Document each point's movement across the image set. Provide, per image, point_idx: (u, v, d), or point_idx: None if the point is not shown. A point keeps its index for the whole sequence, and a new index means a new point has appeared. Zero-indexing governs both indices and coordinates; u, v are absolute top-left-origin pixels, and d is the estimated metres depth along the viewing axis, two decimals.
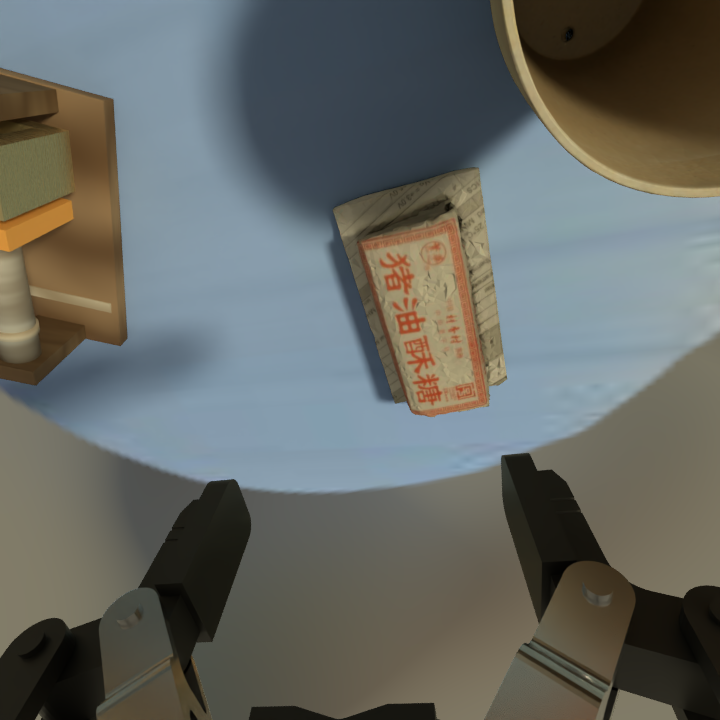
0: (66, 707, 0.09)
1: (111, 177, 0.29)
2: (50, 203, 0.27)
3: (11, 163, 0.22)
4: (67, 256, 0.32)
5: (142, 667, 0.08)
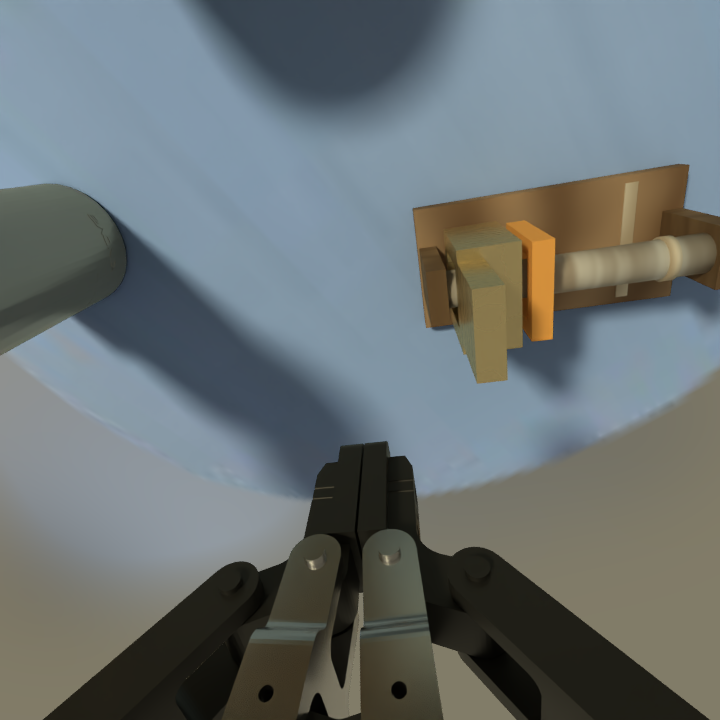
0: (239, 652, 0.09)
1: (478, 199, 0.31)
2: None
3: (469, 243, 0.25)
4: (573, 234, 0.31)
5: (301, 617, 0.09)
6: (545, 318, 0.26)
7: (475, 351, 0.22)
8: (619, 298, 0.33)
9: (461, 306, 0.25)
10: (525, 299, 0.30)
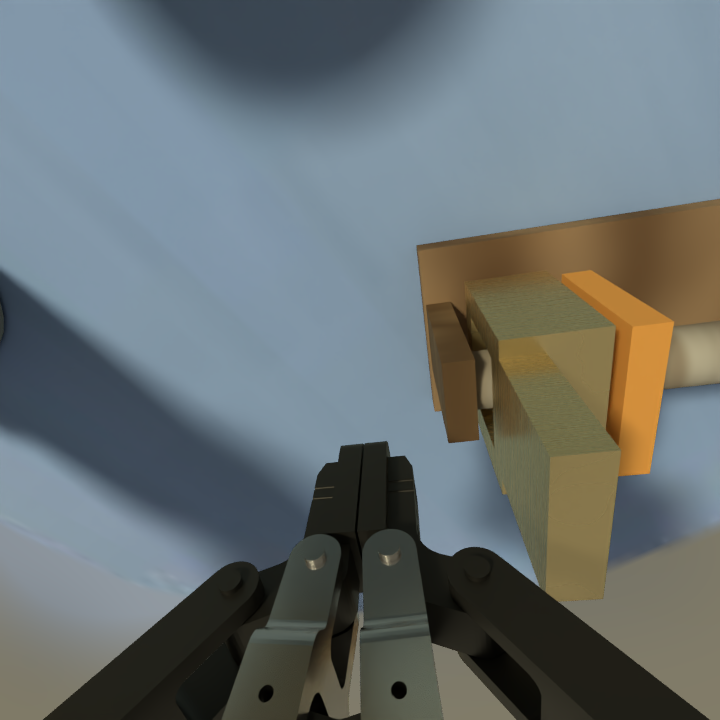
0: (239, 652, 0.09)
1: (515, 234, 0.20)
2: None
3: (516, 321, 0.15)
4: (657, 286, 0.21)
5: (301, 617, 0.09)
6: (641, 444, 0.15)
7: (546, 554, 0.11)
8: None
9: (504, 430, 0.15)
10: None
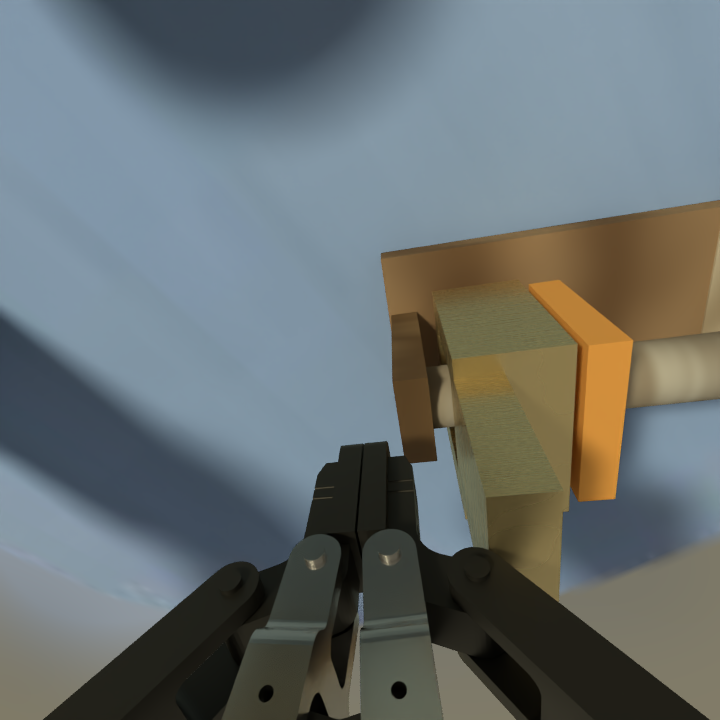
0: (239, 652, 0.09)
1: (482, 241, 0.19)
2: None
3: (475, 337, 0.14)
4: (633, 295, 0.20)
5: (301, 617, 0.09)
6: (604, 468, 0.14)
7: None
8: None
9: (461, 454, 0.14)
10: None
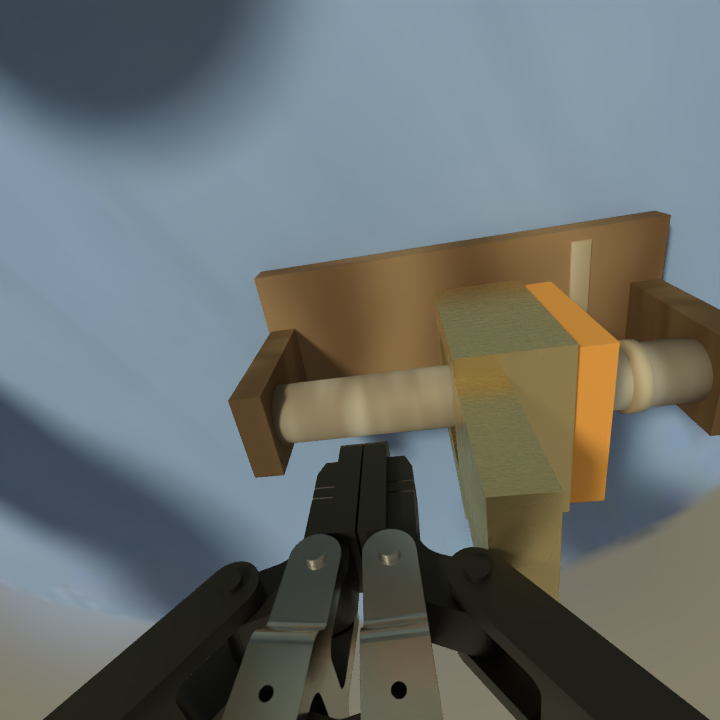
0: (239, 652, 0.09)
1: (350, 262, 0.20)
2: None
3: (476, 337, 0.14)
4: None
5: (301, 617, 0.09)
6: (593, 469, 0.14)
7: None
8: None
9: (462, 455, 0.14)
10: None
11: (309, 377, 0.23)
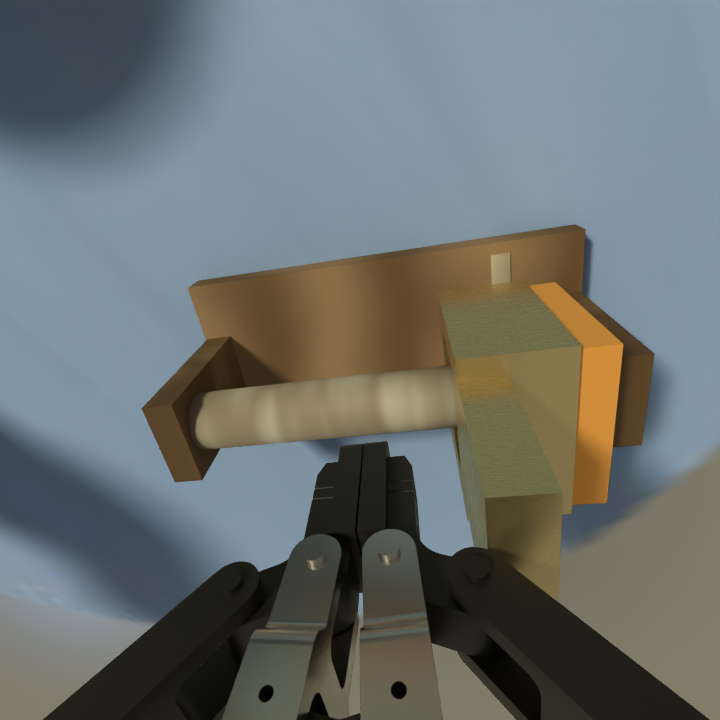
0: (239, 652, 0.09)
1: (280, 272, 0.21)
2: None
3: (479, 338, 0.14)
4: (424, 324, 0.21)
5: (301, 617, 0.09)
6: (595, 471, 0.14)
7: None
8: None
9: (463, 455, 0.14)
10: None
11: (247, 383, 0.23)
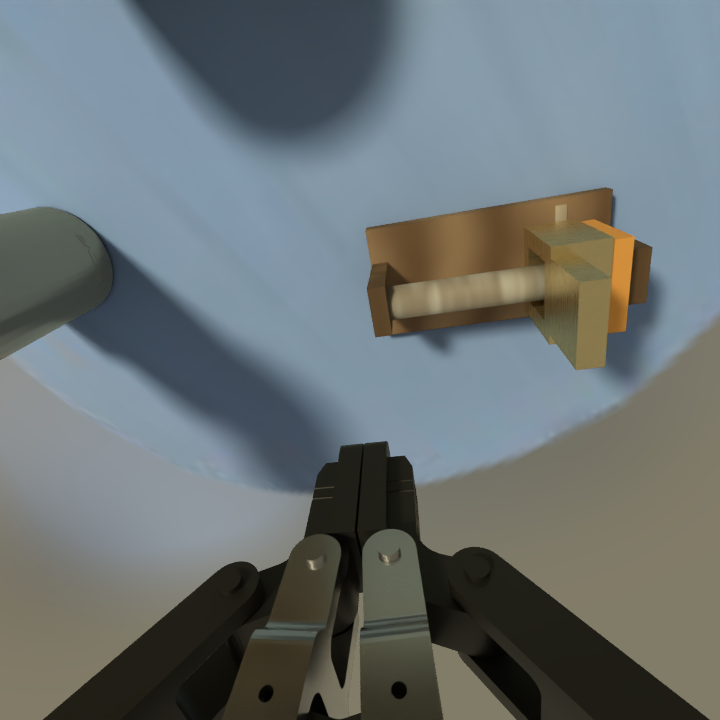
0: (239, 652, 0.09)
1: (423, 219, 0.34)
2: None
3: (559, 239, 0.27)
4: (511, 251, 0.34)
5: (301, 617, 0.09)
6: (620, 311, 0.27)
7: (577, 340, 0.23)
8: None
9: (552, 299, 0.27)
10: None
11: None
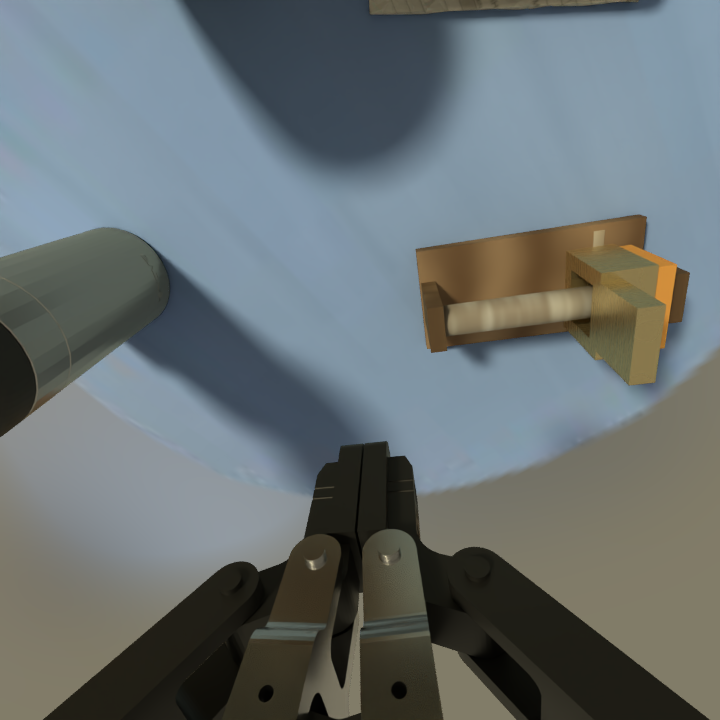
0: (239, 652, 0.09)
1: (470, 242, 0.36)
2: None
3: (607, 266, 0.30)
4: (551, 272, 0.37)
5: (300, 617, 0.09)
6: None
7: (631, 358, 0.26)
8: None
9: (601, 319, 0.29)
10: None
11: None
